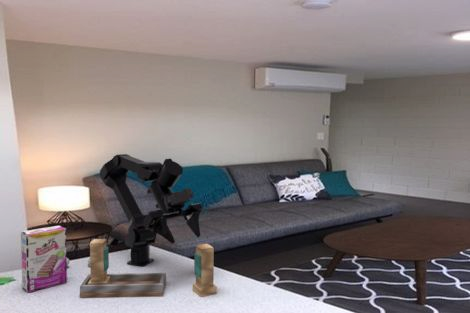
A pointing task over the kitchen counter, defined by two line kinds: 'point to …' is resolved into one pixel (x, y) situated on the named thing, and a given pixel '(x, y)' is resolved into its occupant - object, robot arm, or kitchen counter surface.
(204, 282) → the oak finger
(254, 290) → the kitchen counter surface
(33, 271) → the candy bar box
